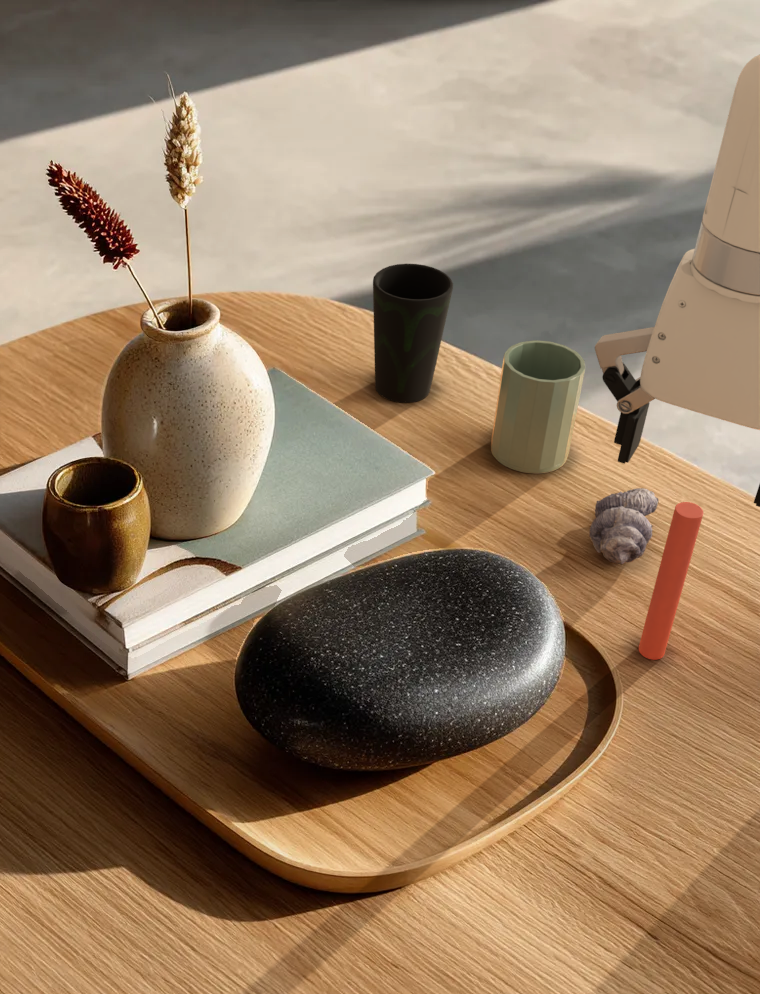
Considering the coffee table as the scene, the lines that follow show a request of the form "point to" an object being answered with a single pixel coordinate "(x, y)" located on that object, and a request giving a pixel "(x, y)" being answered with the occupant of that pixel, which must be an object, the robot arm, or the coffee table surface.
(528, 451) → the tumbler
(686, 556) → the rod
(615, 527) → the seashell
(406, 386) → the cup
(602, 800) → the coffee table surface
